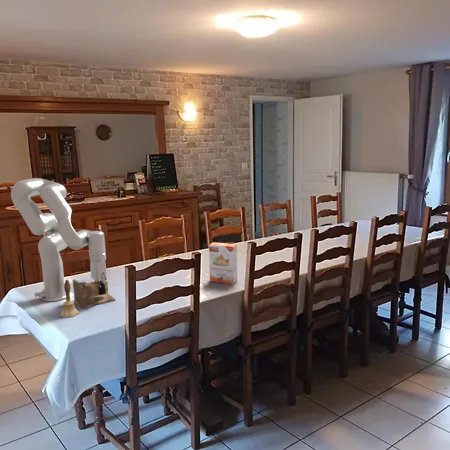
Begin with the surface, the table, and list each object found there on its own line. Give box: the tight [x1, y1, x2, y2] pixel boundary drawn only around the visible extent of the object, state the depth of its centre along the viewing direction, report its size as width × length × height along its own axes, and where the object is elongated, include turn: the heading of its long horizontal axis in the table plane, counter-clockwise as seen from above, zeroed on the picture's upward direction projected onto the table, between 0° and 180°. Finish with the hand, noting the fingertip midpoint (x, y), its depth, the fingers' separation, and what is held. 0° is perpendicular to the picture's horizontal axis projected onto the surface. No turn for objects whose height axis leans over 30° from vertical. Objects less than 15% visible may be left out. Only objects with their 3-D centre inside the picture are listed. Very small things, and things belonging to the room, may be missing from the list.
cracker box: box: [208, 241, 238, 284], centre depth 244 cm, size 14×6×21 cm, turn 68°
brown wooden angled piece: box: [72, 278, 116, 309], centre depth 219 cm, size 16×12×11 cm
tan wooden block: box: [81, 279, 109, 296], centre depth 219 cm, size 12×4×6 cm, turn 126°
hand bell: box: [59, 279, 80, 318], centre depth 203 cm, size 8×8×16 cm
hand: (100, 292), depth 221 cm, fingers closed on tan wooden block, 3 cm apart
